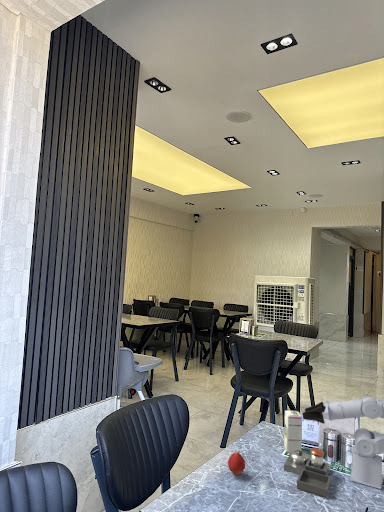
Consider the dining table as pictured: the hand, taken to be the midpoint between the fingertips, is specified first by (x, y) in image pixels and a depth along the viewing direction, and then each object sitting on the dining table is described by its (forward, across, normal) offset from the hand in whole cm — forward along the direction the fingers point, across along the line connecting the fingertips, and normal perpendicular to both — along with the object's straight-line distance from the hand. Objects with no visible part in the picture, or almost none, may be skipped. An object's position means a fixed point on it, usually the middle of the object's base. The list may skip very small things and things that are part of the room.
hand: (304, 413), depth 133 cm
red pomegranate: (+24, +18, +14) cm, 33 cm away
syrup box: (+10, -12, +15) cm, 22 cm away
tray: (0, +12, +20) cm, 23 cm away
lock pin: (0, +4, +17) cm, 18 cm away
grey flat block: (+3, +2, +18) cm, 18 cm away
